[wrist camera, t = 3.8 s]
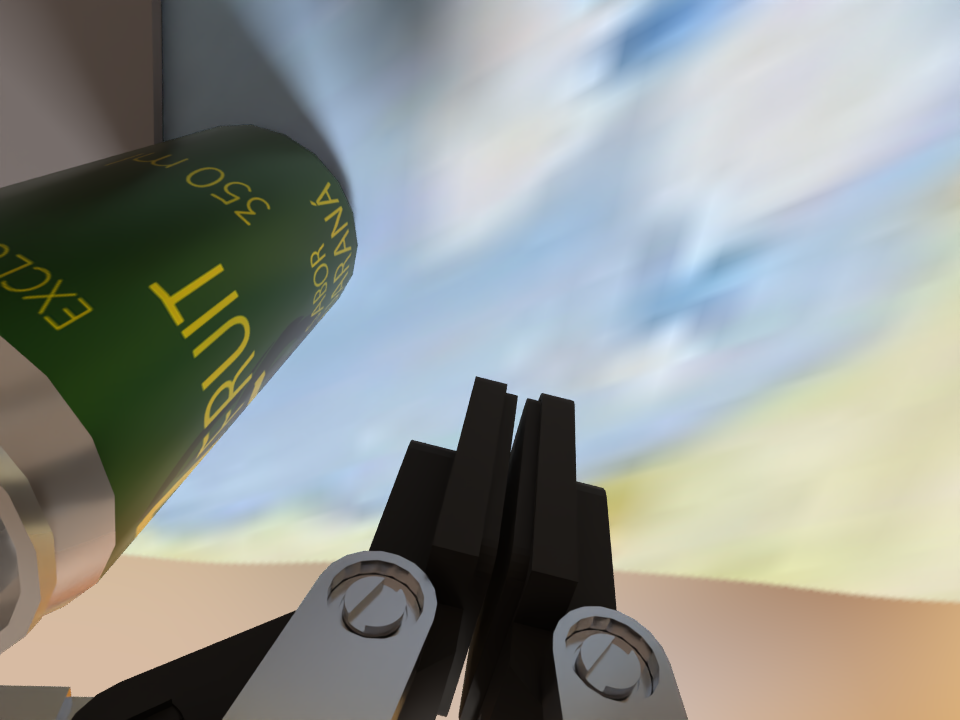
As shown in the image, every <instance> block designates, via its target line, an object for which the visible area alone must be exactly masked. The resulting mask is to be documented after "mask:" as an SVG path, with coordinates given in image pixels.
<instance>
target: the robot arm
mask: <svg viewBox="0 0 960 720" xmlns="http://www.w3.org/2000/svg"><path fill="white" fill-rule="evenodd" d="M506 390H507V384H504V383H500V382H496V381H492V380H488V379H484V378H481V377H477V376H476V378H475V382H474V386H473V390H472V393H471V397H470V401H469V405H468V409H467V413H466V417H465V420H464V424H463V428H462V432H461V436H460V440H459V444H458V447H457V451H454V450H450V449H446V448H442V447H438V446H434V445H430V444H426V443H422V442H418V441H414V440H411V442H410V444H409V446H408V449H407V451H406V454H405V457H404V459H403V462H402V465H401V467H400V470H399V473H398V475H397V478H396V481H395V483H394V486H393V488H392V491H391V494H390V496H389V499H388V502H387V504H386V507H385V510H384V512H383V515H382V518H381V520H380V523H379V525H378V528H377V531H376V533H375V536H374V539H373V541H372V544H371V547H370V549H369V551H362V552H358V553H354V554H349V555H346V556H344V557H342V558H341V559H339V560H337V561H335V562H333V563H332V564H331V565H330V566H329V567H328V568H327V569H326V570H325V571H324V572H323V573H322V574H321V575H320V576H319V578H318V580H317V581H316V582H315V584H314V585H313V587H312V588H311V590H310V591H309V593H308V594H307V595H306V597H305V598H304V600H303V601H302V603H301V604H300V606H299V607H298V609H297V610H296V611H293V612H291V613H288V614H286V615H283V616H281V617H278V618H276V619H274V620H271V621H269V622H266V623H264V624H261V625H259V626H256V627H254V628H252V629H249V630H247V631H244V632H242V633H239V634H237V635H235V636H232V637H229V638H227V639H225V640H222V641H220V642H217V643H215V644H212V645H210V646H207V647H205V648H203V649H200V650H198V651H195V652H193V653H190V654H188V655H186V656H183V657H181V658H178V659H176V660H173V661H171V662H168V663H166V664H163V665H161V666H158V667H156V668H154V669H151V670H149V671H146V672H144V673H141V674H139V675H137V676H134V677H132V678H129V679H127V680H124V681H122V682H120V683H118V684H116V685H114V686H112V687H110V688H108V689H107V690H105V691H103V692H101V693H99V694H97V695H96V696H95V697H71V689H70V687H51V686H3V685H0V720H435V719H436V716H437V715H441V716H445V717H447V715H448V712H449V709H450V705H451V703H452V699H453V696H454V693H455V690H456V686H457V684H458V680H459V677H460V674H461V670H462V668H463V664H464V661H465V658H466V655H467V652H468V649H469V652H468V659H467V665H466V671H465V678H464V684H463V691H462V697H461V704H460V710H459V720H688V718H687V715H686V711H685V708H684V705H683V702H682V699H681V696H680V692H679V689H678V686H677V683H676V680H675V677H674V674H673V671H672V667H671V664H670V662H669V660H668V658H667V656H666V654H665V652H664V649H663V647H662V646H661V645H660V644H659V642H658V641H657V640H656V639H655V637H654V636H653V635H652V634H651V632H649V631H648V630H647V629H646V628H644V627H643V626H642V625H641V624H639V623H638V622H637V621H636V620H634V619H633V618H631V617H629V616H627V615H625V614H622V613H621V612H619V611H617V610H616V599H615V587H614V575H613V564H612V553H611V541H610V530H609V518H608V507H607V496H606V491H605V490H604V489H603V488H601V487H597V486H593V485H589V484H585V483H581V482H577V481H576V447H575V404H574V401H572V400H568V399H564V398H560V397H556V396H552V395H548V394H544V393H542V394H541V395H540V398H539V400H538V401H537V400H533V399H529V398H527V400H526V403H525V406H524V409H523V413H522V416H521V419H520V423H519V426H518V429H517V433H516V436H515V440H514V443H513V446H512V450H511V444H512V436H513V429H514V421H515V414H516V406H517V398H518V396H517V395H513V394H509V393H506ZM510 452H511V453H510Z"/></svg>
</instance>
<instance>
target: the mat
mask: <svg viewBox="0 0 960 720" xmlns="http://www.w3.org/2000/svg"><path fill="white" fill-rule="evenodd" d="M161 142H163V121H162V19H161V0H0V188H2V187H5V186H9V185H12V184H16V183H19V182H23V181H26V180H30V179H33V178H37V177H41V176H44V175H48V174H51V173H55V172H58V171H62V170H65V169H69V168H72V167H76V166H79V165H83V164H87V163H90V162H94V161H97V160H101V159H104V158H108V157H111V156H115V155H118V154H122V153H126V152H129V151H133V150H136V149H140V148H143V147H147V146H150V145H154V144H157V143H161Z"/></svg>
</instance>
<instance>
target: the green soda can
mask: <svg viewBox="0 0 960 720" xmlns="http://www.w3.org/2000/svg"><path fill="white" fill-rule="evenodd" d="M357 246H358V244H357V237H356V230H355V223H354V217H353V212H352V210H351V208H350V206H349V203H348V201H347V199H346V197H345V195H344V193H343V191H342V189H341V186H340V184H339V182H338V181H337V180H336V178H335V177H334V176H333V175H332V174H331V173H330V171H329V170H328V169H327V168H326V167H325V166H324V164H323V163H322V162H321V161H320V160H319V159H318V158H317V156H316V155H315V154H314V153H312V152H311V151H309V150H308V149H306V148H304V147H303V146H301V145H300V144H298V143H297V142H295V141H294V140H292V139H291V138H289V137H288V136H286V135H285V134H282V133H278V132H275V131H271V130H268V129H265V128H261V127H258V126H254V125H232V126H218V127H214V128H211V129H207V130H203V131H200V132H196V133H193V134H189V135H186V136H182V137H179V138H175V139H172V140H168V141H165V142H161V143H157V144H154V145H150V146H147V147H143V148H140V149H136V150H133V151H129V152H126V153H122V154H118V155H115V156H111V157H108V158H104V159H101V160H97V161H94V162H90V163H87V164H83V165H79V166H76V167H72V168H69V169H65V170H62V171H58V172H55V173H51V174H48V175H44V176H41V177H37V178H33V179H30V180H26V181H23V182H19V183H16V184H12V185H9V186H5V187H2V188H0V654H1V653H3V652H4V651H5V650H7V649H8V648H10V647H11V646H13V645H14V644H15V643H17V642H18V641H20V640H21V639H22V638H24V637H25V636H26V635H27V634H28V633H29V632H30V631H31V630H32V629H33V627H34V626H35V625H36V624H37V623H38V622H39V621H40V620H41V618H42V616H44V615H47V614H49V613H51V612H53V611H55V610H57V609H60V608H62V607H64V606H65V605H67V604H68V603H70V602H71V601H72V600H74V599H75V598H77V597H78V596H79V595H81V594H82V593H84V592H85V591H86V590H88V589H89V588H91V587H92V586H93V585H95V584H96V583H97V582H98V581H99V580H100V579H101V578H102V576H103V575H104V574H105V573H106V572H107V571H108V570H109V568H110V567H111V566H112V565H113V564H114V562H115V561H116V560H117V559H118V558H119V557H120V555H121V554H122V553H123V552H124V551H125V550H126V548H127V547H128V546H129V545H130V544H131V542H132V541H133V540H134V539H135V538H136V537H137V535H138V534H139V533H140V532H141V531H142V530H143V528H144V527H145V526H146V525H147V524H148V522H149V521H150V520H151V519H152V518H153V517H154V515H155V514H156V513H157V512H158V511H159V509H160V508H161V507H162V506H163V505H164V504H165V502H166V501H167V500H168V499H169V498H170V497H171V495H172V494H173V493H174V492H175V491H176V489H177V488H178V487H179V486H180V485H181V484H182V482H183V481H184V480H185V479H186V478H187V477H188V475H189V474H190V473H191V472H192V471H193V469H194V468H195V467H196V466H197V465H198V464H199V462H200V461H201V460H202V459H203V458H204V457H205V455H206V454H207V453H208V452H209V451H210V449H211V448H212V447H213V446H214V445H215V444H216V442H217V441H218V440H219V439H220V438H221V436H222V435H223V434H224V433H225V432H226V431H227V429H228V428H229V427H230V426H231V425H232V424H233V422H234V421H235V420H236V419H237V418H238V416H239V415H240V414H241V413H242V412H243V411H244V409H245V408H246V407H247V406H248V405H249V404H250V402H251V401H252V400H253V399H254V398H255V396H256V395H257V394H258V393H259V392H260V391H261V389H262V388H263V387H264V386H265V385H266V384H267V382H268V381H269V380H270V379H271V378H272V376H273V375H274V374H275V373H276V372H277V371H278V369H279V368H280V367H281V366H282V365H283V364H284V362H285V361H286V360H287V359H288V358H289V356H290V355H291V354H292V353H293V352H294V351H295V349H296V348H297V347H298V346H299V345H300V343H301V342H302V341H303V340H304V339H305V338H306V336H307V335H308V334H309V333H310V332H311V331H312V329H313V328H314V327H315V326H316V325H317V323H318V322H319V321H320V320H321V319H322V318H323V316H324V315H325V314H326V313H327V312H328V311H329V309H330V308H331V307H332V306H333V305H334V303H335V302H336V301H337V300H338V299H339V297H340V295H341V294H342V292H343V290H344V288H345V287H346V285H347V283H348V282H349V280H350V278H351V276H352V275H353V269H354V263H355V258H356V252H357Z"/></svg>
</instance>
